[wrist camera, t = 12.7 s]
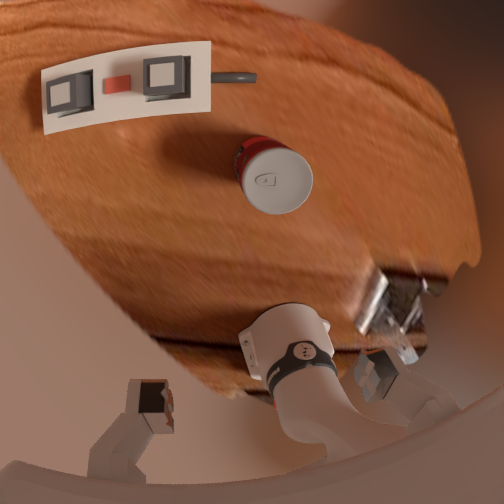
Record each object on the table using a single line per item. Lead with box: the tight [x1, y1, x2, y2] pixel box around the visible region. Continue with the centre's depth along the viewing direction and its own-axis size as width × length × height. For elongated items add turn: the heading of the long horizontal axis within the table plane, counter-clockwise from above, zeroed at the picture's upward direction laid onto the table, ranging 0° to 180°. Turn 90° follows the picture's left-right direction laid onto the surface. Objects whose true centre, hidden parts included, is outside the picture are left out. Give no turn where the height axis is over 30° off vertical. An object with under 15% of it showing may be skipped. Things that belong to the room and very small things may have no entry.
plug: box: [143, 55, 186, 96], centre depth 28 cm, size 4×4×8 cm
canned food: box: [233, 136, 313, 214], centre depth 36 cm, size 8×8×11 cm
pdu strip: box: [41, 41, 256, 135], centre depth 29 cm, size 9×28×9 cm, turn 89°
